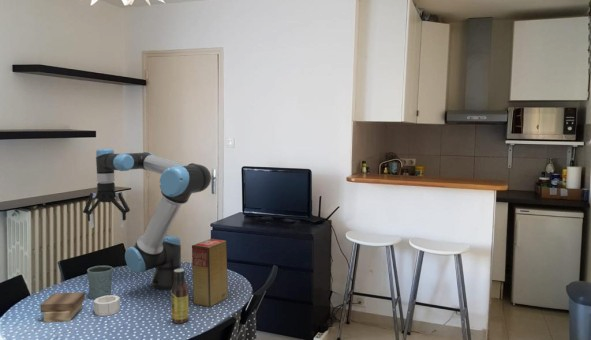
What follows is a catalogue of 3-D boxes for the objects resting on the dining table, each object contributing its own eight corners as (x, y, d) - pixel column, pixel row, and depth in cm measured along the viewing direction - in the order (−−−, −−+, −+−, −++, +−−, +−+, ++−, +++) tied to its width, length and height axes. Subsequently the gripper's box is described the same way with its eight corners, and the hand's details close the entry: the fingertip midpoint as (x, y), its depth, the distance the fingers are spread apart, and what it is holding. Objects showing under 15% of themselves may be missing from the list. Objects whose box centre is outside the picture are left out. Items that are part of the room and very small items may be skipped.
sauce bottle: (173, 317, 176) (172, 267, 174) (189, 317, 176) (189, 266, 175) (170, 324, 169) (169, 272, 168) (187, 324, 170) (186, 272, 168)
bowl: (121, 306, 186) (121, 294, 186) (115, 315, 177) (115, 303, 177) (99, 307, 185) (98, 295, 185) (91, 316, 176) (91, 304, 176)
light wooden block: (82, 307, 186) (81, 298, 186) (69, 321, 172) (68, 312, 172) (59, 307, 185) (58, 299, 185) (44, 322, 171) (43, 313, 171)
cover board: (85, 299, 185) (84, 292, 184) (74, 311, 173) (73, 303, 173) (53, 300, 183) (53, 293, 183) (40, 312, 171) (40, 304, 171)
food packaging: (211, 293, 202) (210, 238, 200) (228, 297, 198) (228, 240, 195) (191, 303, 190) (190, 244, 188) (210, 307, 186) (209, 247, 184)
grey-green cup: (84, 295, 199) (83, 268, 198) (107, 289, 206) (106, 263, 205) (94, 301, 192) (93, 273, 191) (117, 295, 199) (116, 268, 198)
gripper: (135, 181, 216) (136, 225, 218) (80, 181, 213) (82, 226, 215) (131, 182, 208) (133, 228, 210) (74, 183, 205) (76, 229, 207)
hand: (107, 227), depth 212 cm, fingers open, 13 cm apart
